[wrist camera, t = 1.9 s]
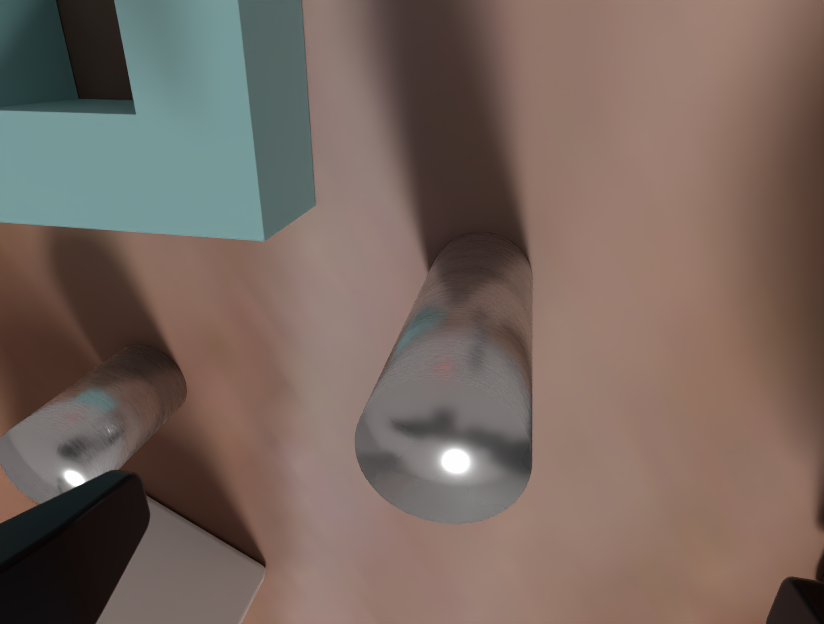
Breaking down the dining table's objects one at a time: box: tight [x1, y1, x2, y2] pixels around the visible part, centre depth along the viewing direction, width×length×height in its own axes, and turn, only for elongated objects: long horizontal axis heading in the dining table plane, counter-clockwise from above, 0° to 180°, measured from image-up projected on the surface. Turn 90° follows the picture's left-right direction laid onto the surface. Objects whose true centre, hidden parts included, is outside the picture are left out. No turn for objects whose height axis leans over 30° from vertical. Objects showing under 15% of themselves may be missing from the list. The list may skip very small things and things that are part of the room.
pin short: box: [0, 345, 187, 504], centre depth 18 cm, size 3×3×5 cm
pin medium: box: [355, 232, 533, 524], centre depth 13 cm, size 3×3×8 cm
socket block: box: [0, 0, 315, 241], centre depth 14 cm, size 10×10×4 cm
